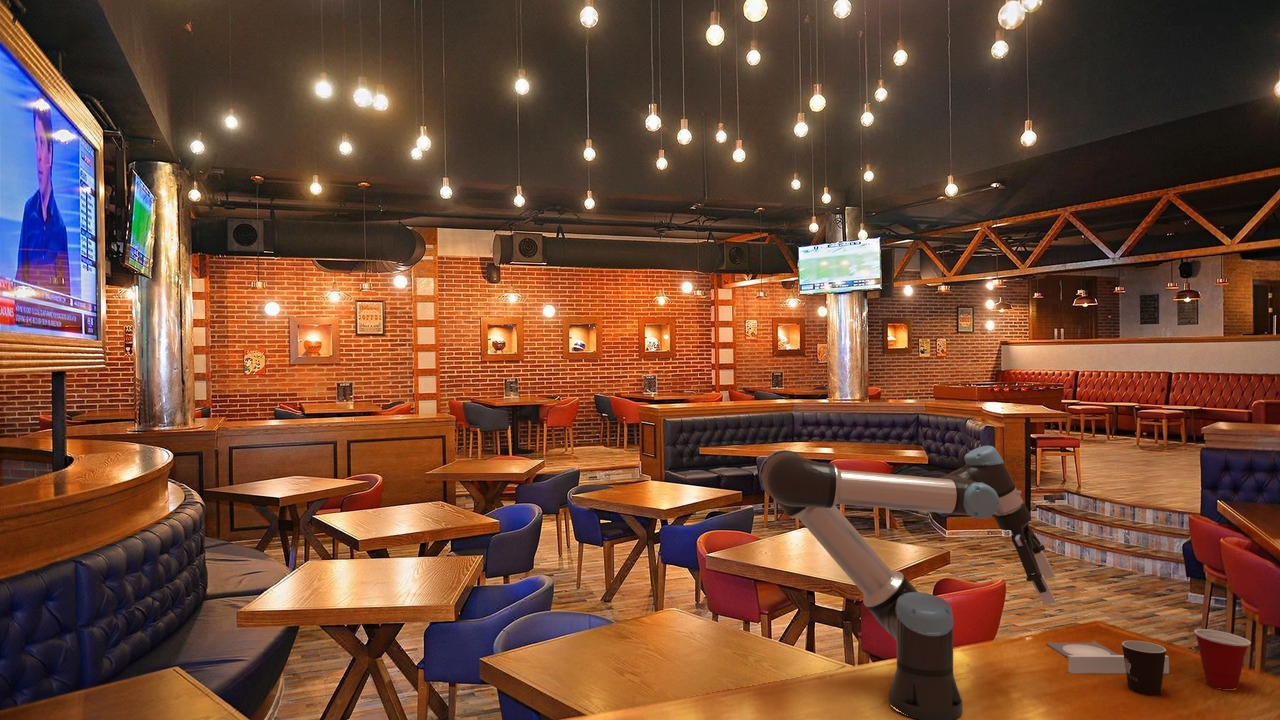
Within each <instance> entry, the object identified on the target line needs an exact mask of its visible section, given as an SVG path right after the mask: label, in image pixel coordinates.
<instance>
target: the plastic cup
mask: <svg viewBox="0 0 1280 720" xmlns="http://www.w3.org/2000/svg"><path fill="white" fill-rule="evenodd" d="M1193 633H1194V635H1195V637H1196V642H1197V646H1198V649H1199V654H1200V660H1201V665H1202V669H1203V673H1204V678H1205V682H1206V684H1207V686H1209V685H1210V686H1211V688H1213V687H1214V689H1216V688H1221V689H1234V688H1237V689H1238V687H1239V683H1240V678H1241V676H1242V675H1241V674H1242V670H1243V666H1244V665H1243V664H1244V660H1245V654H1246V652H1247V650H1248V647H1250V646H1251V644H1252V642H1251V641H1250V640H1249V639H1247V638H1245V637H1242V636H1239V635H1236V634H1234V633H1230V632H1226V631H1221V630H1216V629H1209V628H1208V629H1206V628H1196V629H1194V630H1193ZM1210 686H1209V687H1210Z"/></svg>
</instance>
